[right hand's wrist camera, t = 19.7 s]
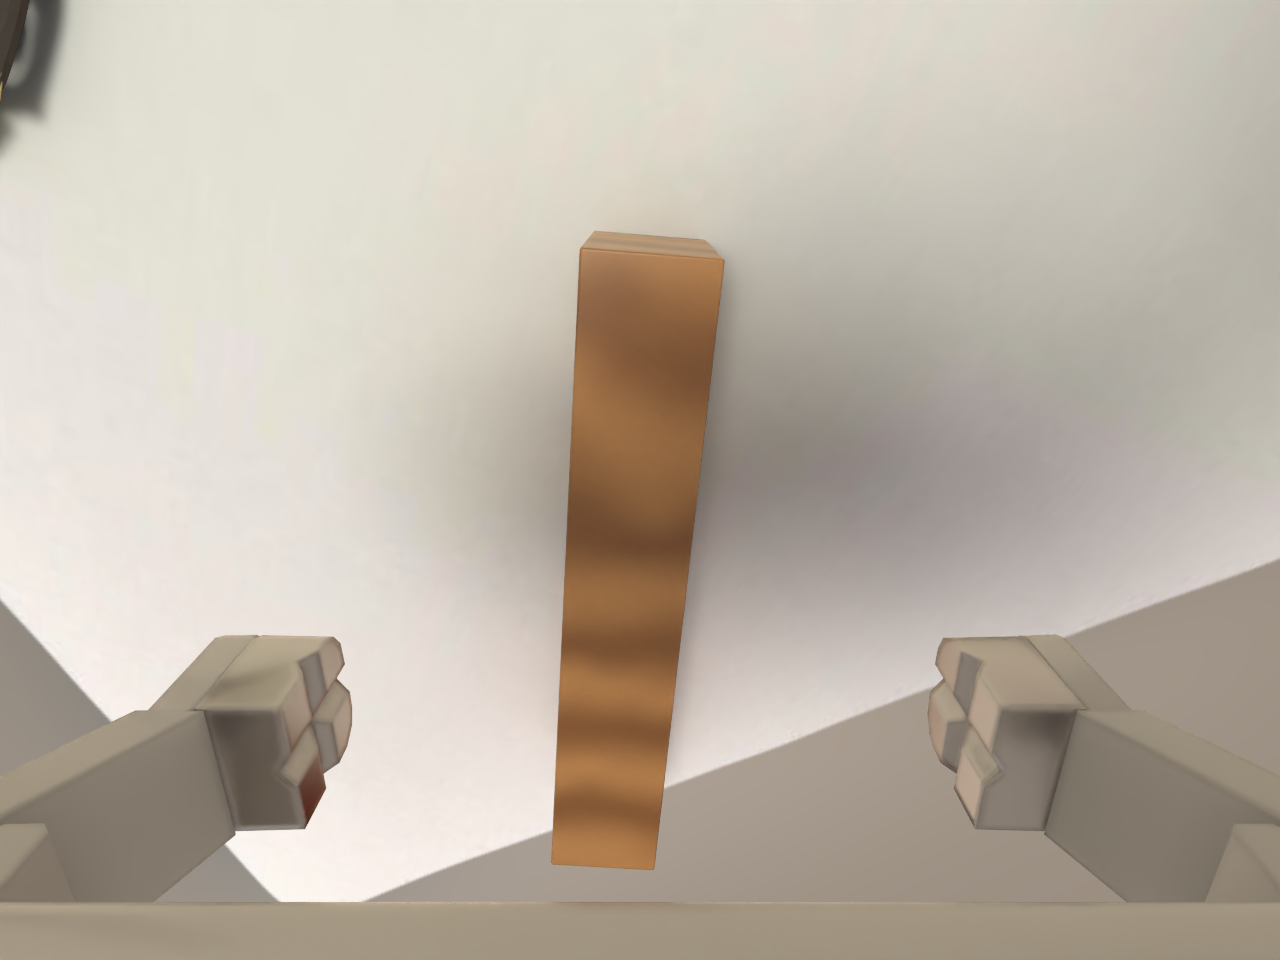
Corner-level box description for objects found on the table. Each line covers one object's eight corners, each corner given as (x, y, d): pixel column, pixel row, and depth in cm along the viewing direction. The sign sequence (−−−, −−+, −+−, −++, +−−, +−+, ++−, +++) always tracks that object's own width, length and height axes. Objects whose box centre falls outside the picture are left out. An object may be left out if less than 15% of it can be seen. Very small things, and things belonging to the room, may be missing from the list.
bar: (593, 230, 32) (579, 247, 25) (705, 240, 32) (725, 259, 25) (566, 745, 42) (551, 865, 35) (651, 750, 42) (654, 871, 35)
